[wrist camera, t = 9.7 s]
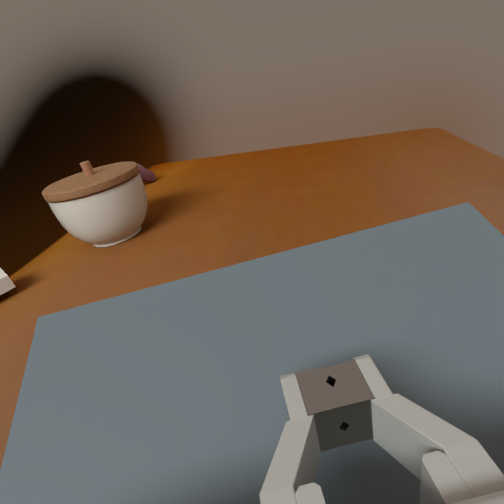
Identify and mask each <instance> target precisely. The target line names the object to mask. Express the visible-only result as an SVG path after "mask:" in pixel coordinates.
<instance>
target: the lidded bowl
mask: <svg viewBox="0 0 504 504" xmlns="http://www.w3.org/2000/svg"><path fill="white" fill-rule="evenodd" d="M80 165H81V167H82V169H83V172H80V173H77V174H75V175H72V176H69V177H67V178H64V179H62V180H59V181H57V182H55V183H53V184H51V185H50V186H48V187H46V188H45V189H44V190H43V192H42V195H43V197H44V199H45V200H46V202H48V204H49V205H50V207H51V209H52V211H53V213H54V214H55V216H56V218H58V220H59V222H60V223H61V224H62V226H64V228H65V229H66V230H67V231H68V232H69V233H70V234H71V235H73V236H74V237H76V238H78V239H79V240H82V241H84V242H87V243H91V244H93V246H95V247H99V248H102V247H109V246H113V245H116V244H119V243H122V242H124V241H127V240H129V239H131V238H132V237H134V236H135V235H137V234H138V233H139V232H140V231H141V229H142V227H141V225H142V223H143V221H144V219H145V216H146V213H147V195H146V191H145V186H144V183H143V180H142V178H141V175H140V173H139V172H140V170H139V167H138V164H137V163H135V162H119V163H114V164H109V165H105V166H101V167H97V168H92V166H91V164H90V162H89V161H85V162H82V163H80Z"/></svg>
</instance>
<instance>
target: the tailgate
mask: <svg viewBox="0 0 504 504" xmlns="http://www.w3.org/2000/svg"><path fill="white" fill-rule="evenodd" d="M366 354H368V355H369V356H370V357H371V358H372V360H373V362H374V363H375V365H376V367H377V368H378V370H379V372H380V373H381V375H382V377H383V378H384V380H385V382H386V383H387V385H388V386H389V388H390V390H391V391H392V393H393V394H397V393H398V394H400V395H402V396H403V397H405V398H407V399H408V400H410V401H412V402H414V403H415V404H417V405H419V406H420V407H422V408H424V409H426V410H427V411H429V412H431V413H432V414H434V415H436V416H438V417H439V418H441V419H443V420H444V421H446V422H448V423H449V424H451V425H453V426H455V427H456V428H458V429H460V430H461V431H463V432H465V433H467V434H468V435H470V436H472V437H473V438H475V439H477V440H478V442H479V443H480V444H481V446H482V447H483V448H484V450H485V451H486V452H487V454H488V455H489V456H490V458H491V459H492V460H493V462H494V463H495V464H496V465H497V467H498V468H499V469H500V471H501V472H502V473H503V475H504V236H503V235H502V234H501V233H500V232H499V231H498V230H497V229H496V228H495V227H494V226H493V225H492V224H491V223H490V222H489V221H488V220H487V219H486V218H484V217H483V216H482V215H481V214H480V213H479V212H478V211H477V210H476V209H475V208H474V207H473V206H472V205H471V204H470V203H469V202H467V203H463V204H459V205H456V206H452V207H448V208H444V209H441V210H437V211H433V212H429V213H426V214H422V215H418V216H415V217H411V218H407V219H403V220H400V221H396V222H392V223H388V224H385V225H381V226H377V227H374V228H370V229H366V230H362V231H359V232H355V233H351V234H347V235H344V236H340V237H336V238H332V239H329V240H325V241H321V242H318V243H314V244H310V245H306V246H303V247H299V248H295V249H291V250H288V251H284V252H280V253H276V254H273V255H269V256H265V257H262V258H258V259H254V260H250V261H247V262H243V263H239V264H235V265H232V266H228V267H224V268H221V269H217V270H213V271H209V272H206V273H202V274H198V275H194V276H191V277H187V278H183V279H179V280H176V281H172V282H168V283H165V284H161V285H157V286H153V287H150V288H146V289H142V290H138V291H135V292H131V293H127V294H124V295H120V296H116V297H112V298H109V299H105V300H101V301H97V302H94V303H90V304H86V305H82V306H79V307H75V308H71V309H68V310H64V311H60V312H56V313H53V314H49V315H45V316H41V317H38V320H37V324H36V328H35V332H34V336H33V340H32V344H31V348H30V352H29V356H28V360H27V365H26V369H25V373H24V377H23V381H22V385H21V389H20V393H19V397H18V401H17V405H16V409H15V413H14V417H13V421H12V425H11V429H10V433H9V438H8V442H7V446H6V450H5V454H4V458H3V462H2V466H1V470H0V504H261V503H260V495H259V494H260V491H261V489H262V486H263V483H264V481H265V478H266V475H267V472H268V470H269V467H270V464H271V461H272V459H273V456H274V453H275V451H276V448H277V445H278V442H279V440H280V437H281V434H282V431H283V429H284V426H285V423H286V421H290V418H289V413H288V409H287V405H286V401H285V397H284V393H283V389H282V385H281V380H280V376H282V375H286V374H291V373H295V372H299V371H303V370H308V369H312V368H317V367H321V366H323V365H327V364H331V363H335V362H339V361H342V360H346V359H350V358H355V357H359V356H362V355H366ZM315 483H316V484H318V485H319V486H320V487H321V490H322V493H323V497H324V500H325V504H419V502H420V484H421V480H420V479H418V478H417V477H416V476H415V475H414V474H412V473H411V472H410V471H409V470H408V469H407V468H405V467H404V466H403V465H402V464H401V463H400V462H398V461H397V460H396V459H395V458H394V457H393V456H391V455H390V454H389V453H388V452H387V451H386V450H384V449H383V448H382V447H381V446H380V445H378V444H377V443H376V442H375V441H374V440H373V439H370V440H366V441H361V442H357V443H352V444H348V445H344V446H341V447H337V448H334V449H330V450H327V451H323V452H321V457H320V462H319V466H318V471H317V476H316V481H315Z"/></svg>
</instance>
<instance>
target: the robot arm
mask: <svg viewBox="0 0 504 504" xmlns="http://www.w3.org/2000/svg"><path fill="white" fill-rule="evenodd" d="M280 380H281V385H282V389H283V393H284V397H285V401H286V405H287V409H288V413H289V418H290V421H286V423H285V426H284V429H283V431H282V434H281V437H280V440H279V442H278V445H277V448H276V451H275V453H274V456H273V459H272V461H271V464H270V467H269V470H268V472H267V475H266V478H265V481H264V483H263V486H262V489H261V491H260V494H259V495H260V503H261V504H325V500H324V497H323V493H322V490H321V487H320V486H319V485H318V484H316V483H315V481H316V476H317V471H318V466H319V462H320V457H321V452H323V451H327V450H330V449H334V448H337V447H341V446H344V445H348V444H352V443H357V442H361V441H366V440H370V439H373V440H374V441H375V442H376V443H377V444H378V445H380V446H381V447H382V448H383V449H384V450H386V451H387V452H388V453H389V454H390V455H391V456H393V457H394V458H395V459H396V460H397V461H398V462H400V463H401V464H402V465H403V466H404V467H405V468H407V469H408V470H409V471H410V472H411V473H412V474H414V475H415V476H416V477H417V478H418V479H420V480H421V484H420V502H419V504H504V475H503V473H502V472H501V471H500V469H499V468H498V467H497V465H496V464H495V463H494V462H493V460H492V459H491V458H490V456H489V455H488V454H487V452H486V451H485V450H484V448H483V447H482V446H481V444H480V443H479V442H478V440H477V439H475V438H473V437H472V436H470V435H468V434H467V433H465V432H463V431H461V430H460V429H458V428H456V427H455V426H453V425H451V424H449V423H448V422H446V421H444V420H443V419H441V418H439V417H438V416H436V415H434V414H432V413H431V412H429V411H427V410H426V409H424V408H422V407H420V406H419V405H417V404H415V403H414V402H412V401H410V400H408V399H407V398H405V397H403V396H402V395H400V394H398V393H397V394H393V393H392V391H391V390H390V388H389V386H388V385H387V383H386V382H385V380H384V378H383V377H382V375H381V373H380V372H379V370H378V368H377V367H376V365H375V363H374V362H373V360H372V358H371V357H370V356H369V355H368V354H366V355H362V356H359V357H355V358H350V359H346V360H342V361H339V362H335V363H331V364H327V365H323V366H321V367H317V368H312V369H308V370H303V371H299V372H295V373H291V374H286V375H282V376H280Z"/></svg>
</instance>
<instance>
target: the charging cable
mask: <svg viewBox="0 0 504 504" xmlns="http://www.w3.org/2000/svg"><path fill="white" fill-rule="evenodd" d="M15 287H16V286H15V285H14V284H13V282H12V281H11V280H10V278H9V277H8V275H7V274H5V272H4V271H3V270H2V269H1V268H0V295H2V294H4V293H5V292H7V291H9V290H11V289H13V288H15Z"/></svg>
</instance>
